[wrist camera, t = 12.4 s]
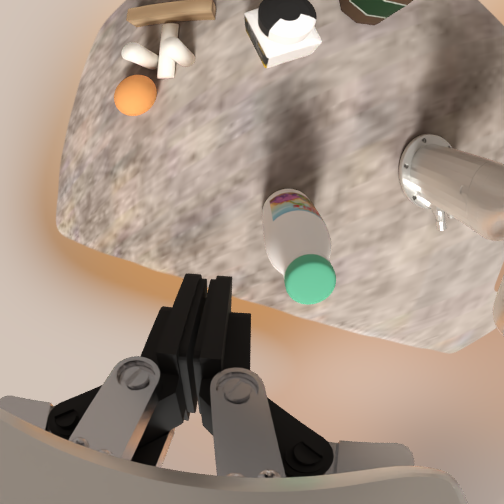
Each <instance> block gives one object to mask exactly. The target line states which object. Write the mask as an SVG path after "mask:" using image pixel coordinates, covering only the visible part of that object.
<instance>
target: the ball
mask: <svg viewBox="0 0 504 504" xmlns="http://www.w3.org/2000/svg"><path fill="white" fill-rule="evenodd" d="M156 95H157V90H156V86H155V84H154V82H153V81H152V80H151V79H150V78H148V77H146V76H144V75H132V76H129V77H127V78H125V79H124V80H123V81H121V82H120V84H119V85H118V86H117V88H116V90H115V94H114V101H115V105H116V107H117V108H118V110H119V111H120V112H122V113H123V114H126V115H129V116H137V115H140V114H143V113H145V112H146V111H148V110H149V109H150V108H151V107H152V105H153V104H154V102H155V100H156Z"/></svg>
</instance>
